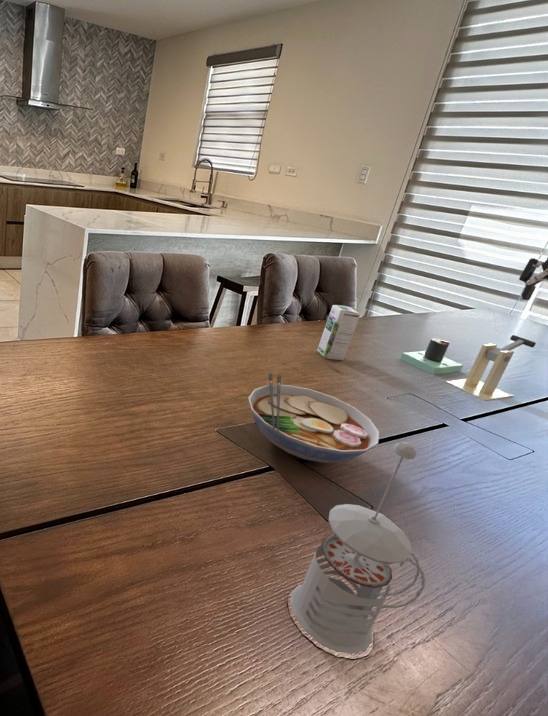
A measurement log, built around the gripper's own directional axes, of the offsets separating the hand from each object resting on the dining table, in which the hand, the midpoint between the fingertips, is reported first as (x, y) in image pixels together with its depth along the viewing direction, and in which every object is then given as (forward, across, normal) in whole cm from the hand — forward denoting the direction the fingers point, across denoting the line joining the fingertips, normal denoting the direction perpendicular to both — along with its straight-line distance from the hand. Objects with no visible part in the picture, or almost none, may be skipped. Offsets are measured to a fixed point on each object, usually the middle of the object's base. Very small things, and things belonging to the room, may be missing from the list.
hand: (544, 305), depth 119 cm
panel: (+24, +14, +10) cm, 30 cm away
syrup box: (+24, +26, +36) cm, 51 cm away
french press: (+24, -39, +104) cm, 114 cm away
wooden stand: (+24, 0, +11) cm, 26 cm away
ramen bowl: (+24, -9, +81) cm, 85 cm away
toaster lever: (+13, 0, +6) cm, 14 cm away
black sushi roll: (+21, +14, +10) cm, 27 cm away
